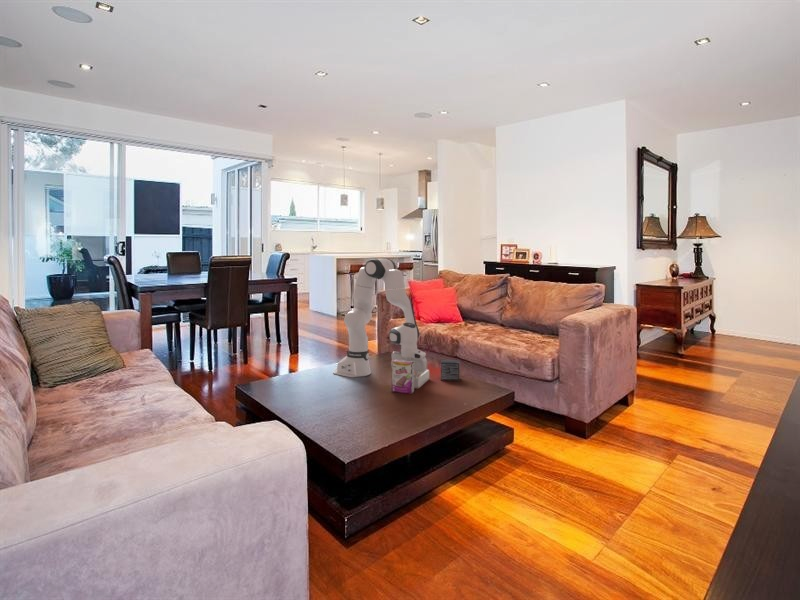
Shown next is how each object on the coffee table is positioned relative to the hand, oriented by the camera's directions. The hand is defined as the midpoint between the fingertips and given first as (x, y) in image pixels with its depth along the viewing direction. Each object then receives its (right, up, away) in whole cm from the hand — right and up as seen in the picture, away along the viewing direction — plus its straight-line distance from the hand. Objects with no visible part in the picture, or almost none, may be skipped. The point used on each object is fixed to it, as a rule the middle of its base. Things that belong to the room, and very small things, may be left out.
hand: (408, 377), depth 247 cm
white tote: (+2, -3, +5) cm, 6 cm away
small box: (+24, -3, +11) cm, 26 cm away
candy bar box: (-3, -6, -12) cm, 13 cm away
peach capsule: (+3, -2, +9) cm, 9 cm away
